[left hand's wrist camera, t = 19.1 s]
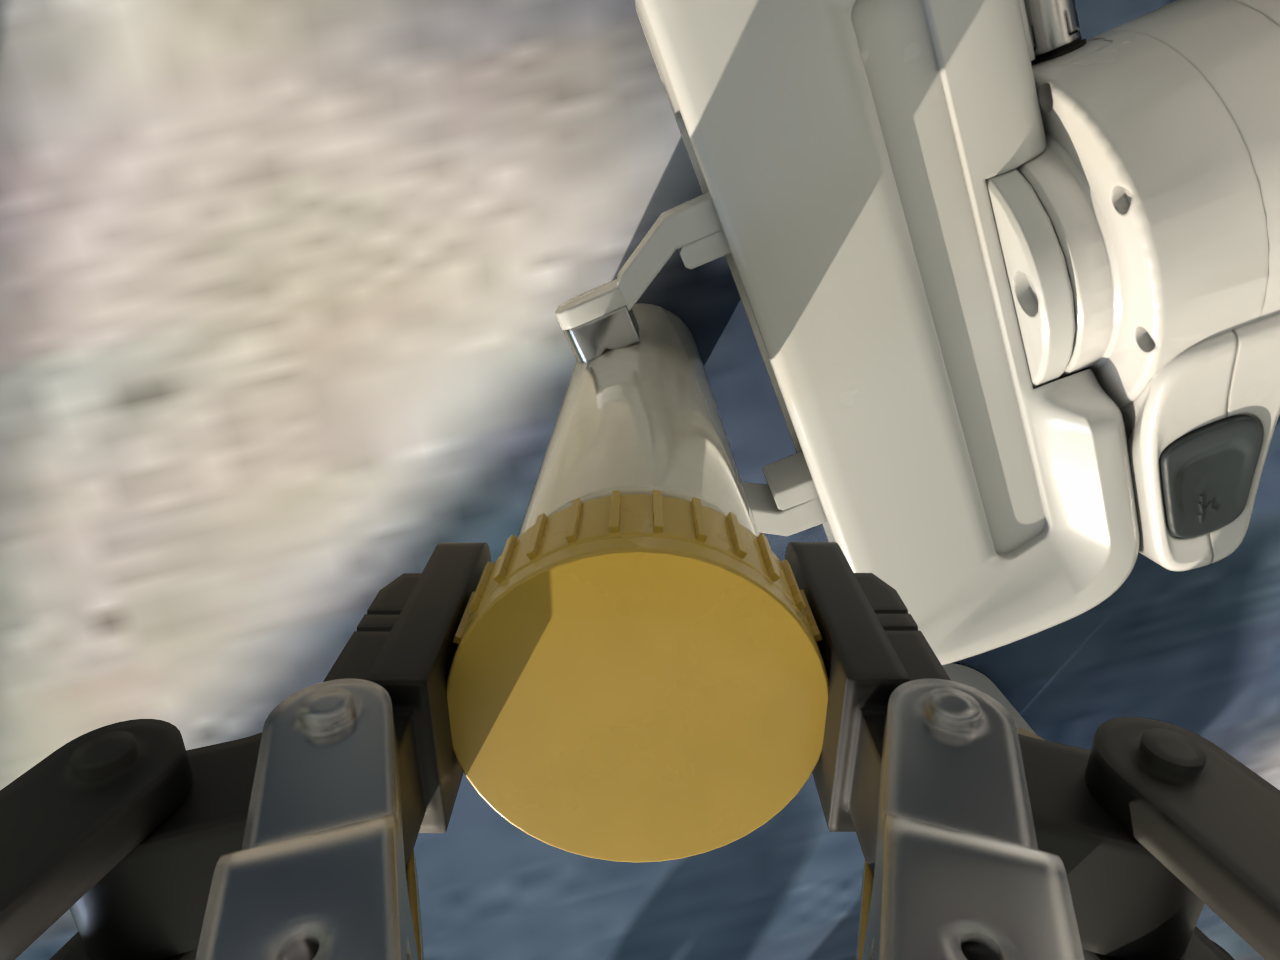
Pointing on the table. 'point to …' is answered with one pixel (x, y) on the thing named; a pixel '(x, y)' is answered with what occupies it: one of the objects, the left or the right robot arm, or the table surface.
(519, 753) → the lid
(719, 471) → the beige long cylinder
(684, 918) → the table surface
